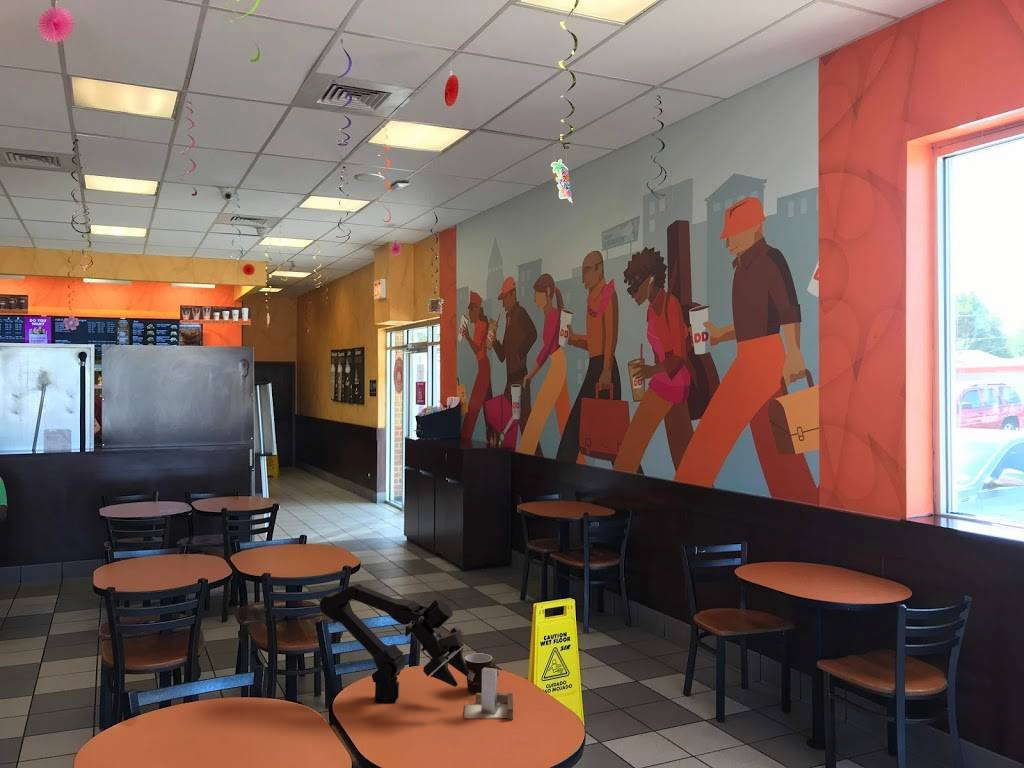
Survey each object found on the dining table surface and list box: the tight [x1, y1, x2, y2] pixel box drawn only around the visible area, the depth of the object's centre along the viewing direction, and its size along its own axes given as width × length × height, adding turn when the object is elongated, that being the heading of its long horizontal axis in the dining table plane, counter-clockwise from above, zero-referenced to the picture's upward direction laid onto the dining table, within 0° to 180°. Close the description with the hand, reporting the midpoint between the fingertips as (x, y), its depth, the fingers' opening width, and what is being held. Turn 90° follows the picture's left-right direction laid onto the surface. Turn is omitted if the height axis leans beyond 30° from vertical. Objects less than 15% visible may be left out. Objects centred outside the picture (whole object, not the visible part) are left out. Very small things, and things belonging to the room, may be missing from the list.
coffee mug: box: [464, 652, 499, 694], centre depth 248 cm, size 12×9×10 cm
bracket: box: [481, 667, 501, 715], centre depth 233 cm, size 4×6×12 cm, turn 163°
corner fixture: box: [463, 692, 514, 721], centre depth 233 cm, size 14×12×3 cm
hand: (462, 680), depth 234 cm, fingers open, 9 cm apart
